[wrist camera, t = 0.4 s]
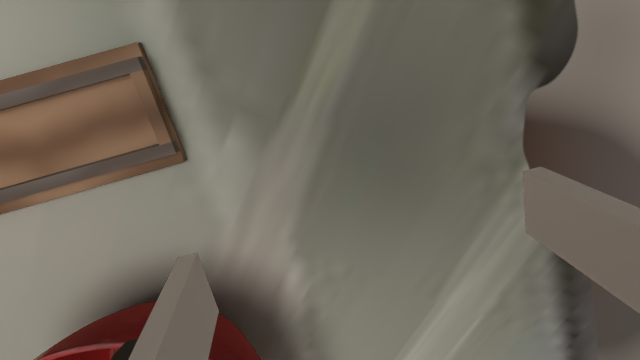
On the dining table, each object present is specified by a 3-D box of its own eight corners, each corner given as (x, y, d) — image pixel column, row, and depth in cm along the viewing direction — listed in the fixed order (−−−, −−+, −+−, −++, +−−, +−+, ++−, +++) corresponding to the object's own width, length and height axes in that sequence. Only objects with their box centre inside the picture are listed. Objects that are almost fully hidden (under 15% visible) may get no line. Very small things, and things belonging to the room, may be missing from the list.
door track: (-169, 128, 36) (-200, 133, 34) (140, 42, 37) (131, 41, 35) (-92, 238, 40) (-116, 249, 38) (186, 159, 41) (181, 165, 38)
